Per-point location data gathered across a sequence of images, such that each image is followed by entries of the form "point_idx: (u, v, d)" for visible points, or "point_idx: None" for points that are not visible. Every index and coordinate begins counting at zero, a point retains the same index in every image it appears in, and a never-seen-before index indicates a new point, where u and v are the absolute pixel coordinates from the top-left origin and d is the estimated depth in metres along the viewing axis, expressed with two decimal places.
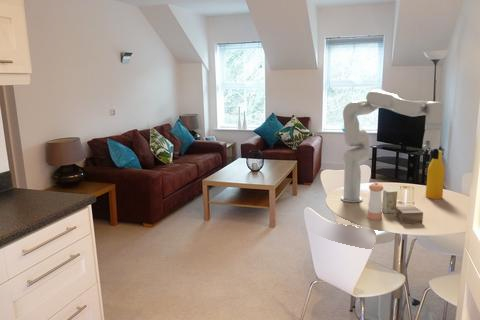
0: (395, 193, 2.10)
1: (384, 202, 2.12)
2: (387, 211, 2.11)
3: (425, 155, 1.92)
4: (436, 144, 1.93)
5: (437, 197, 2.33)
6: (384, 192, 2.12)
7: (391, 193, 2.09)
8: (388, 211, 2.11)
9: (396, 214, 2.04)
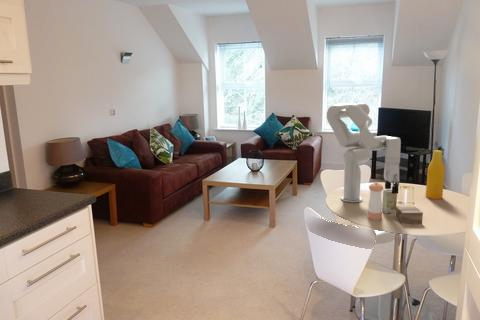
0: None
1: (384, 202, 2.12)
2: (387, 211, 2.11)
3: (395, 188, 2.04)
4: None
5: (437, 197, 2.33)
6: (384, 192, 2.12)
7: (391, 193, 2.09)
8: (388, 211, 2.11)
9: (396, 214, 2.04)
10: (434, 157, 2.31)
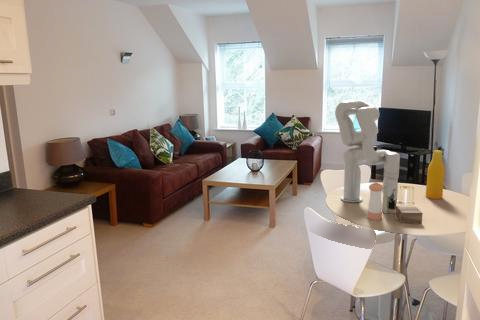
0: None
1: (384, 202, 2.12)
2: (387, 211, 2.11)
3: (392, 203, 2.09)
4: None
5: (437, 197, 2.33)
6: (384, 192, 2.11)
7: None
8: (388, 211, 2.11)
9: (396, 214, 2.04)
10: (434, 157, 2.31)
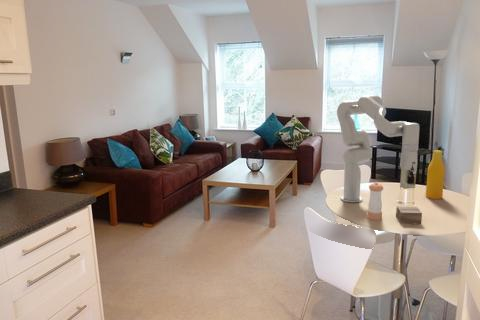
0: None
1: (403, 177, 1.98)
2: (406, 186, 1.96)
3: (411, 177, 1.94)
4: None
5: (437, 197, 2.33)
6: (402, 166, 1.97)
7: None
8: (407, 186, 1.97)
9: (397, 213, 2.04)
10: (434, 157, 2.31)
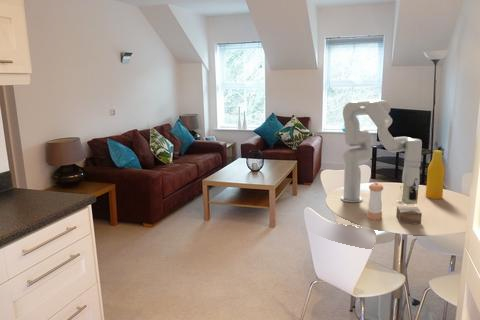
0: None
1: (405, 192, 1.97)
2: (408, 202, 1.96)
3: (413, 193, 1.94)
4: None
5: (437, 197, 2.33)
6: (405, 182, 1.97)
7: None
8: (409, 202, 1.96)
9: (397, 213, 2.05)
10: (434, 157, 2.31)
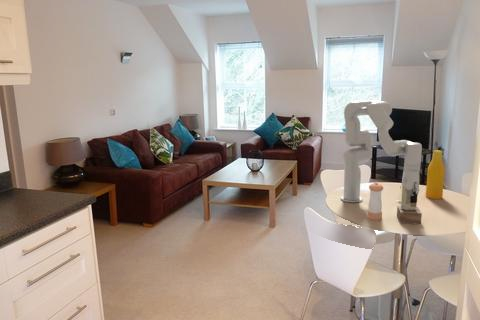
0: None
1: (403, 198, 1.99)
2: (407, 208, 1.97)
3: (414, 197, 1.93)
4: None
5: (437, 197, 2.33)
6: (403, 188, 1.99)
7: None
8: (408, 208, 1.97)
9: (397, 213, 2.05)
10: (434, 157, 2.31)
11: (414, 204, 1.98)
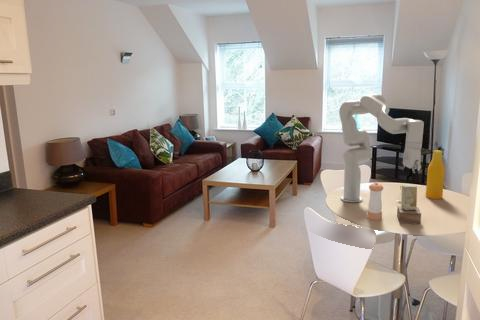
0: (414, 188, 1.97)
1: (403, 198, 1.99)
2: (406, 208, 1.98)
3: (415, 174, 1.90)
4: None
5: (437, 197, 2.33)
6: (402, 187, 1.99)
7: (409, 188, 1.96)
8: (407, 208, 1.98)
9: (397, 213, 2.05)
10: (434, 157, 2.31)
11: (414, 204, 1.98)
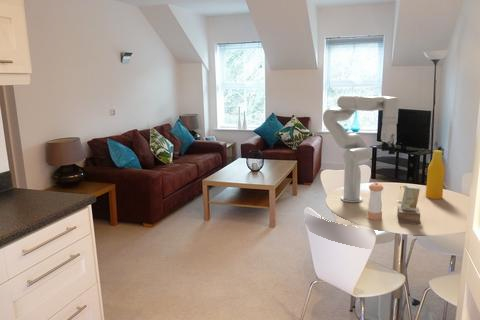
0: (417, 190, 1.95)
1: (403, 198, 1.98)
2: (405, 208, 1.97)
3: (392, 148, 2.01)
4: None
5: (437, 197, 2.33)
6: (405, 187, 1.98)
7: (412, 189, 1.95)
8: (406, 208, 1.97)
9: (397, 213, 2.05)
10: (434, 157, 2.31)
11: (414, 205, 1.97)
